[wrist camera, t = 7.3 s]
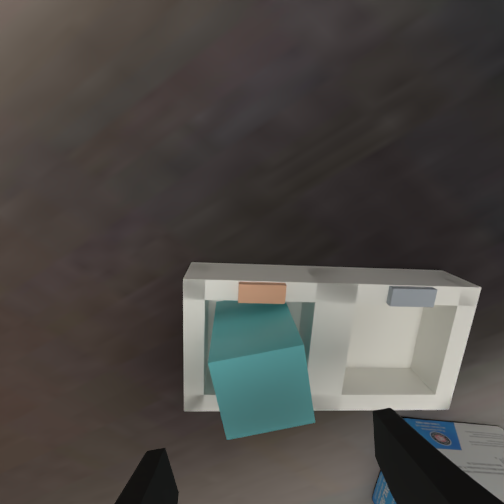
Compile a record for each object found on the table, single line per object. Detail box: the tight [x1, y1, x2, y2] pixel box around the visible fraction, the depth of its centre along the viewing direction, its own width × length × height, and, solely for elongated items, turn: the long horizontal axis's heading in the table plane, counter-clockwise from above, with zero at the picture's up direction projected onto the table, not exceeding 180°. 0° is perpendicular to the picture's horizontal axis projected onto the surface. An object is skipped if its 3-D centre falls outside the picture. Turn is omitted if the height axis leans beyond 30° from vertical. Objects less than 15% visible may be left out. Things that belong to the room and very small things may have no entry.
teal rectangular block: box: [208, 300, 315, 440], centre depth 15 cm, size 4×4×6 cm
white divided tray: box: [183, 262, 481, 411], centre depth 17 cm, size 16×8×3 cm, turn 87°
